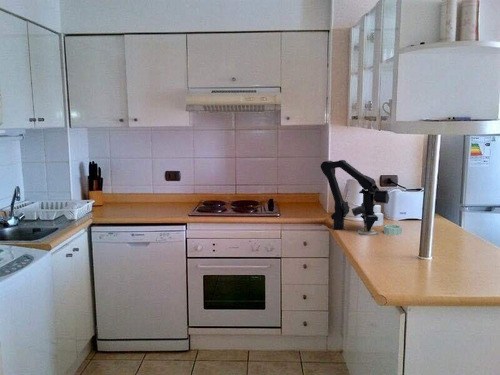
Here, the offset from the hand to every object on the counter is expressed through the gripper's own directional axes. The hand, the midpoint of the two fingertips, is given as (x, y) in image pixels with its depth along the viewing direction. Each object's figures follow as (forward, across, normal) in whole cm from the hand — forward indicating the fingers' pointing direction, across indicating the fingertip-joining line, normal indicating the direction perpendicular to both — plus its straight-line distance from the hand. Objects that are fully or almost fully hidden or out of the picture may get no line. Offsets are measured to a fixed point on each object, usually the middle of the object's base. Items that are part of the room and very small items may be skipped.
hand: (367, 230), depth 236 cm
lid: (+1, 0, 0) cm, 1 cm away
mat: (+2, 0, 0) cm, 2 cm away
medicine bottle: (+2, -19, +9) cm, 21 cm away
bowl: (+2, +2, +13) cm, 13 cm away
